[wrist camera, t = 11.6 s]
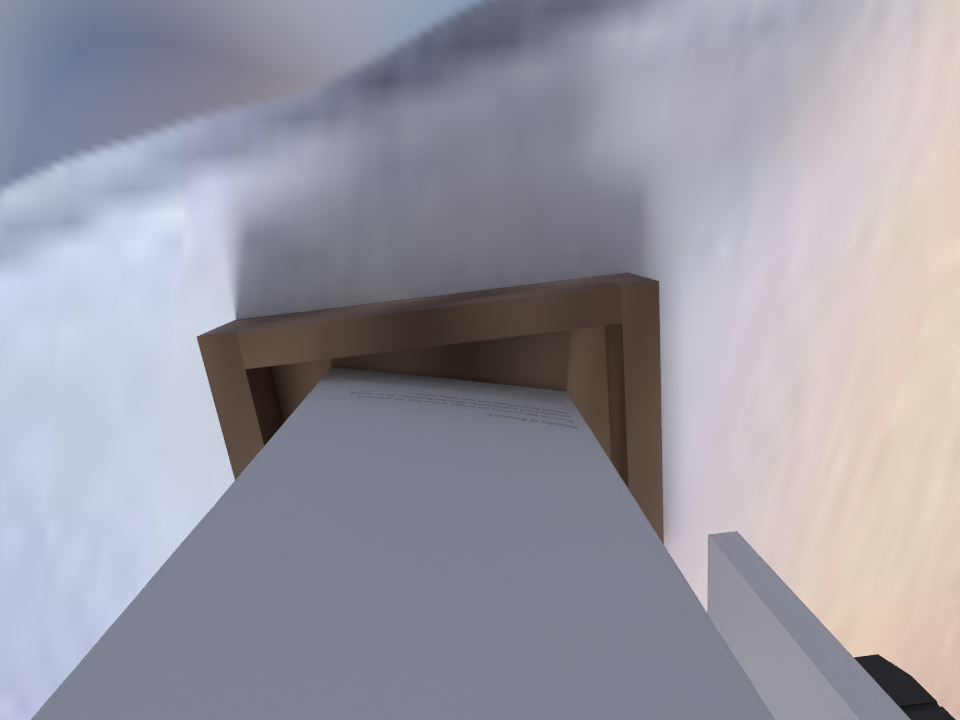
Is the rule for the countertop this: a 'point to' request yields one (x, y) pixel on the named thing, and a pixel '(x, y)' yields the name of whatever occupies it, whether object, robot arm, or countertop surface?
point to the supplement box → (417, 578)
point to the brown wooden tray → (464, 361)
